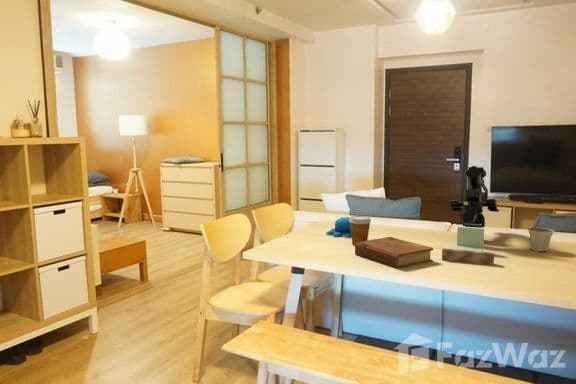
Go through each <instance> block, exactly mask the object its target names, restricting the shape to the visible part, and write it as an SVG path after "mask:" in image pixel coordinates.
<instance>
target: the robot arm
mask: <svg viewBox="0 0 576 384" xmlns="http://www.w3.org/2000/svg"><path fill="white" fill-rule="evenodd" d="M484 168H485V167H483V166H478V165H471V166H469V167H468V168H467V169H466V171H465V175H464V176H465V178H466V182H467V189H466V188H465V189H464V191H463V192H464V196H463V197H464V201H463V202H461V201H460V199H451V200H450V201H449V207H450V209H451V211H452V212H461V211H462V208H463V210H464V212H463V214H462V227H477V228H486V227H485V226H486V218H485V216H484V213H483V211H484V210H483V208H484V207H487V210H488V211H490V212H491V211H497V210H498V202H497V200H496V198H489V189H488V187H487V186H486V185H485V179H484V178H486V176H487V171H486V169H484Z"/></svg>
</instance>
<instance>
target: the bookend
mask: <svg viewBox="0 0 576 384" xmlns="http://www.w3.org/2000/svg"><path fill="white" fill-rule="evenodd" d="M456 230H457V232H456V233H457V234H456V235H457V236H456V245H455V246H456V247H455V249H457V250H468V251H479V252H484V244H485V243H484V241H485V240H484V239H485V227H483V228H477V227H465V226H463V225H462V226H459V225H458V226H457V229H456Z"/></svg>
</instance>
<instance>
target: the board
mask: <svg viewBox="0 0 576 384" xmlns="http://www.w3.org/2000/svg"><path fill="white" fill-rule="evenodd" d="M441 261H447V262H459V263H469V264H479V265H488V266H494V265H495V264H494V263H495V262H494V261H495V252H491V251H490V252H489V251H483V252H479V251H468V250H457V249H456V248H454V249H453V248H444V247H443V248H442V249H441Z"/></svg>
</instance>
